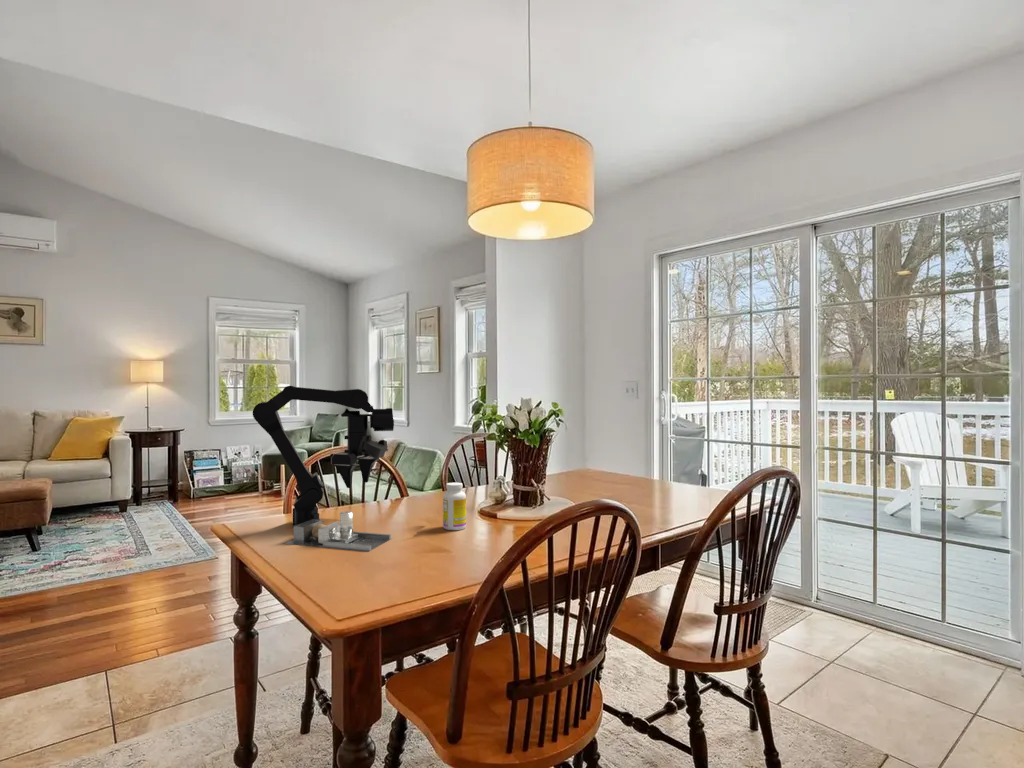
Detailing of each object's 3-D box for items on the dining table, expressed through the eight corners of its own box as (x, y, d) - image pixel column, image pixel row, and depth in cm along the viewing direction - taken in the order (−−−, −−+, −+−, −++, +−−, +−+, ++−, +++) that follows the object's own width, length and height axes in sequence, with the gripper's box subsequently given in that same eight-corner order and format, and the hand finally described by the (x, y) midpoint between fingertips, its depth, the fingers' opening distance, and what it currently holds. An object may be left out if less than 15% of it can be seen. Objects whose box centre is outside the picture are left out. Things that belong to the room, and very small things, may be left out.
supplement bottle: (469, 526, 169) (469, 482, 168) (460, 531, 162) (460, 486, 162) (449, 524, 171) (449, 481, 171) (439, 529, 164) (439, 484, 164)
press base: (283, 549, 145) (283, 527, 145) (312, 537, 156) (312, 517, 156) (368, 558, 138) (368, 535, 138) (392, 544, 150) (392, 523, 150)
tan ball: (310, 542, 147) (307, 527, 148) (319, 538, 151) (316, 523, 151) (323, 540, 146) (320, 524, 147) (332, 536, 150) (329, 521, 150)
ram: (318, 543, 144) (318, 514, 144) (336, 534, 152) (336, 507, 152) (343, 545, 142) (343, 516, 142) (360, 537, 150) (360, 509, 150)
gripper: (365, 435, 157) (365, 492, 157) (397, 429, 175) (397, 481, 175) (329, 434, 160) (329, 490, 160) (364, 428, 178) (364, 479, 178)
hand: (357, 485), depth 168 cm, fingers open, 9 cm apart
